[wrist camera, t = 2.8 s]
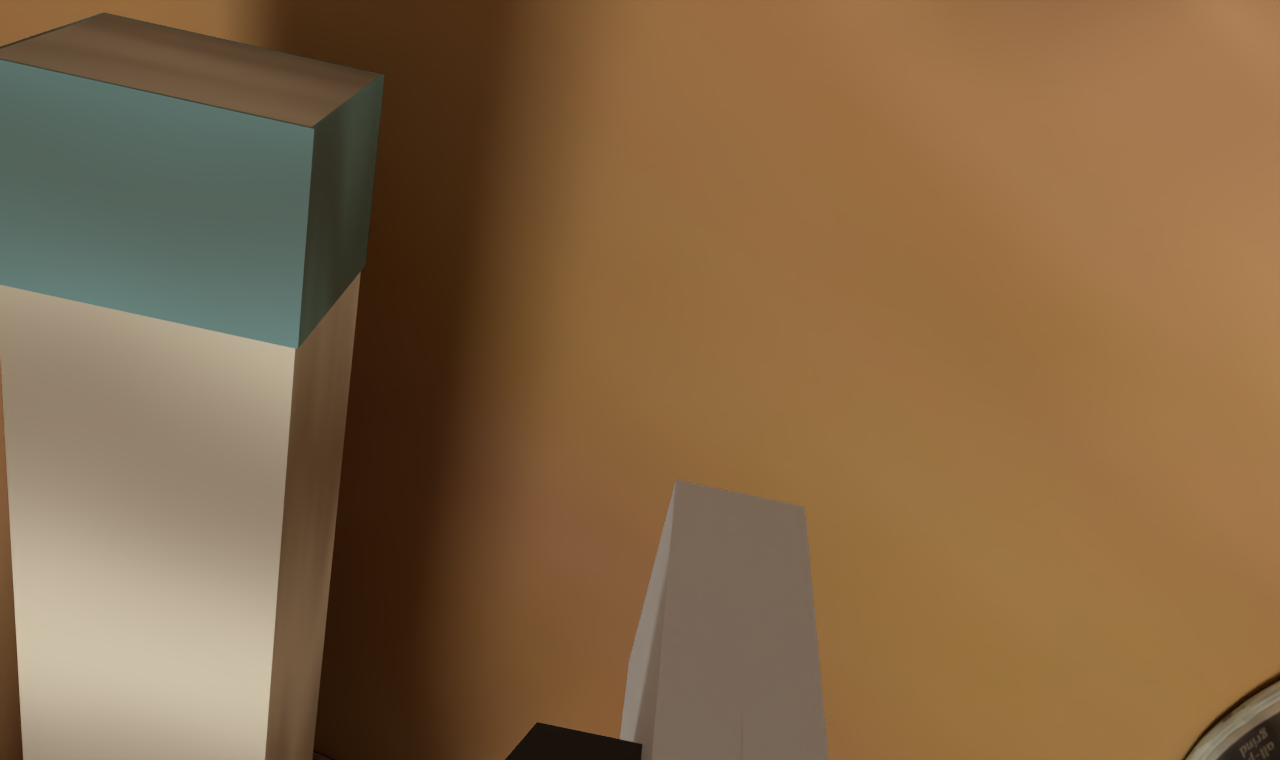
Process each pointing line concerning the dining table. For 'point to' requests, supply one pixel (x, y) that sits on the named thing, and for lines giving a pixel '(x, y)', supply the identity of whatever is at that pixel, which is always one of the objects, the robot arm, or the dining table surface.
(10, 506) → the link
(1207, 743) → the coffee can
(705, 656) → the robot arm
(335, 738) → the dining table surface
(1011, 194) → the dining table surface
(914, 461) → the dining table surface
